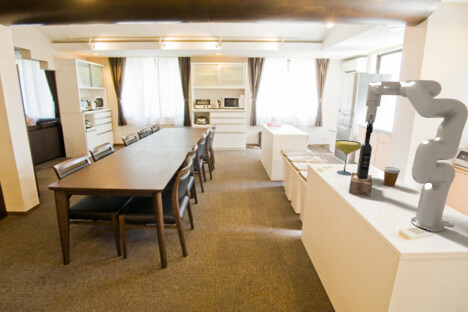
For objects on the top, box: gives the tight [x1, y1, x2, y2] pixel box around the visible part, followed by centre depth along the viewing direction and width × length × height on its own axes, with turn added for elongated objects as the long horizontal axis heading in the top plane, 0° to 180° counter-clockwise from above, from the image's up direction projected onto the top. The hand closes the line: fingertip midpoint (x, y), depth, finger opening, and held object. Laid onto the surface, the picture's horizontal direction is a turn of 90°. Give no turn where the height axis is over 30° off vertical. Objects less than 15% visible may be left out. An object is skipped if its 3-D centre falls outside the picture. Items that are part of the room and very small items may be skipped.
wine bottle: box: [356, 132, 373, 179], centre depth 157 cm, size 6×6×30 cm
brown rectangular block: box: [348, 172, 373, 198], centre depth 163 cm, size 12×20×8 cm, turn 152°
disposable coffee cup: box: [383, 166, 401, 188], centre depth 171 cm, size 10×10×12 cm
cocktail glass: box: [334, 139, 362, 176], centre depth 194 cm, size 18×18×25 cm
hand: (369, 131), depth 154 cm, fingers open, 9 cm apart
